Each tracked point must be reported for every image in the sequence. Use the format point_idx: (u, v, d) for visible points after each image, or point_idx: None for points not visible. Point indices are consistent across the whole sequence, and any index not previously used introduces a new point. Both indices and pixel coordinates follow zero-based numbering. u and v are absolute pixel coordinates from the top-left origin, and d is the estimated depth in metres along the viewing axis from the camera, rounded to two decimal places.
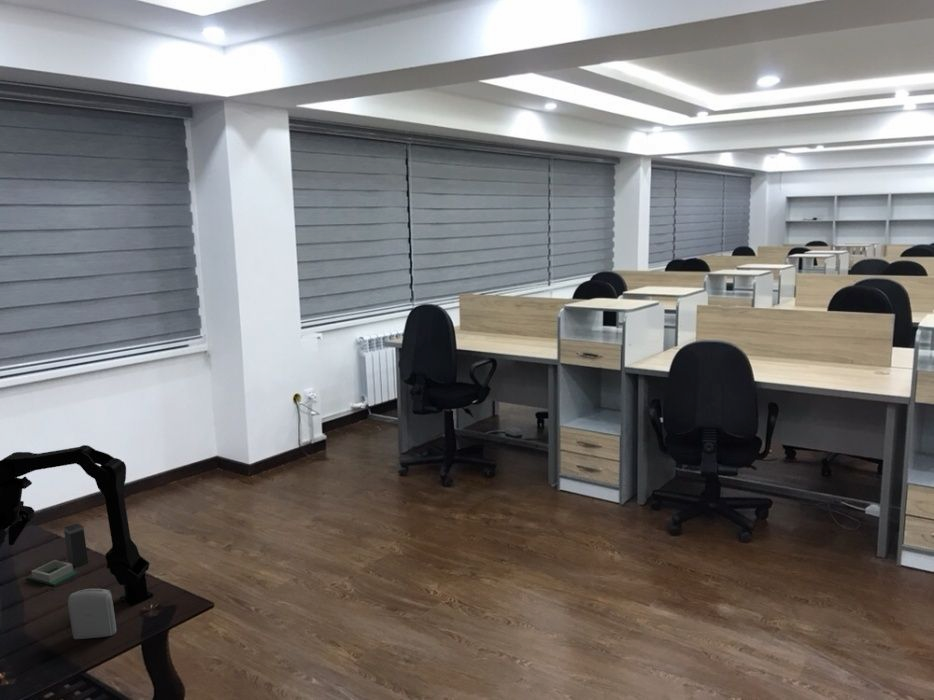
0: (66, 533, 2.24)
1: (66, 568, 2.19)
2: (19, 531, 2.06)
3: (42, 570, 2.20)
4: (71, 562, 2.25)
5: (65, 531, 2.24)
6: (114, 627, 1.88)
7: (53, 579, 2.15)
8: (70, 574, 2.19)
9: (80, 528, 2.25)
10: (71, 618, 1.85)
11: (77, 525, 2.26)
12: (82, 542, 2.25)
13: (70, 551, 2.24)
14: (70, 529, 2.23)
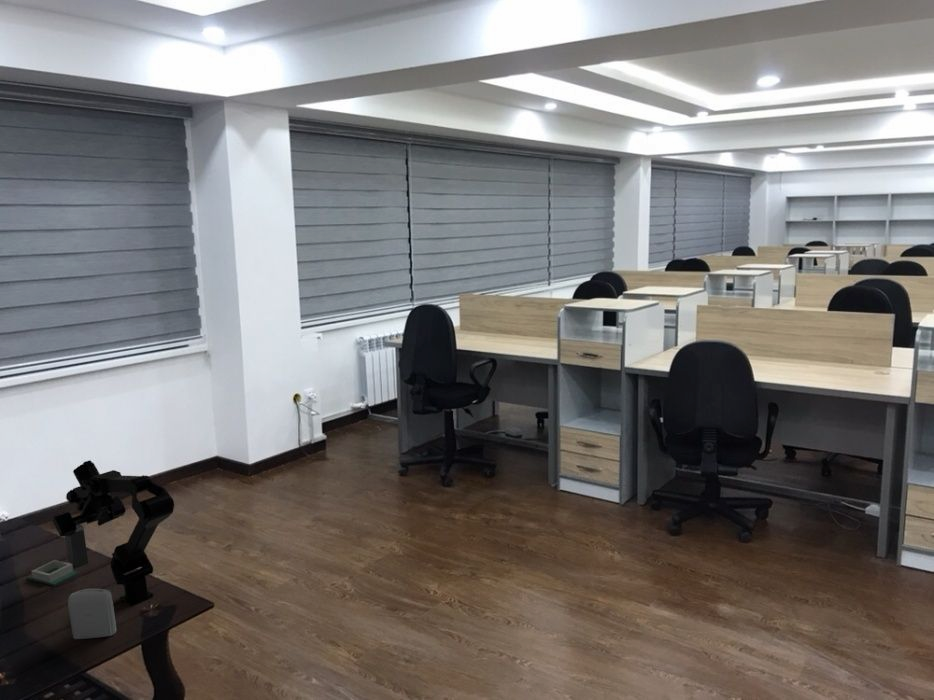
0: None
1: (66, 568, 2.19)
2: (105, 520, 2.20)
3: (42, 570, 2.20)
4: (71, 562, 2.25)
5: None
6: (114, 627, 1.88)
7: (53, 579, 2.15)
8: (70, 574, 2.19)
9: (80, 528, 2.25)
10: (71, 618, 1.85)
11: (77, 525, 2.26)
12: (82, 542, 2.25)
13: (70, 551, 2.24)
14: None
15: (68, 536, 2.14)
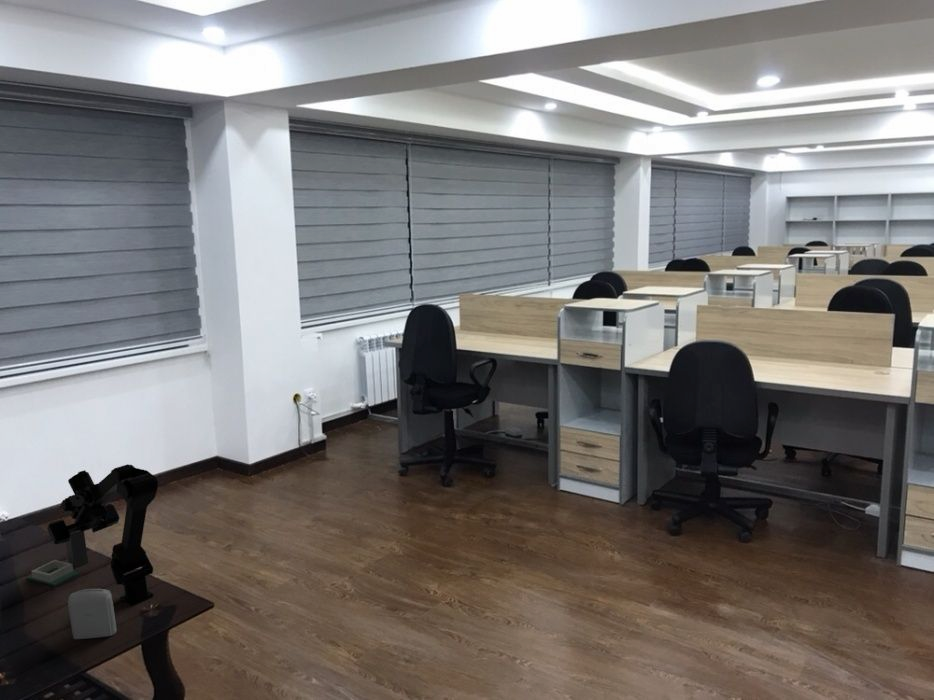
0: None
1: (66, 568, 2.19)
2: (99, 528, 2.25)
3: (42, 570, 2.20)
4: (71, 562, 2.25)
5: None
6: (114, 627, 1.88)
7: (53, 579, 2.15)
8: (70, 574, 2.19)
9: None
10: (71, 618, 1.85)
11: None
12: (82, 542, 2.25)
13: (70, 551, 2.24)
14: None
15: (62, 543, 2.19)
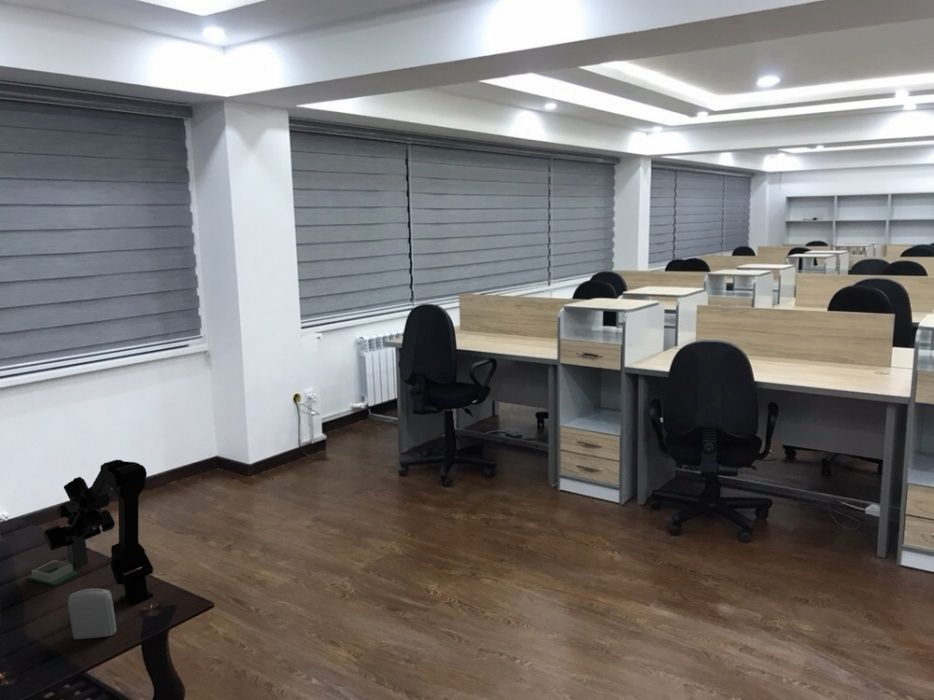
0: None
1: (66, 568, 2.19)
2: (87, 536, 2.26)
3: (42, 570, 2.20)
4: (71, 562, 2.25)
5: None
6: (114, 627, 1.88)
7: (53, 579, 2.15)
8: (70, 574, 2.19)
9: None
10: (71, 618, 1.85)
11: None
12: (82, 542, 2.25)
13: (70, 551, 2.24)
14: None
15: None
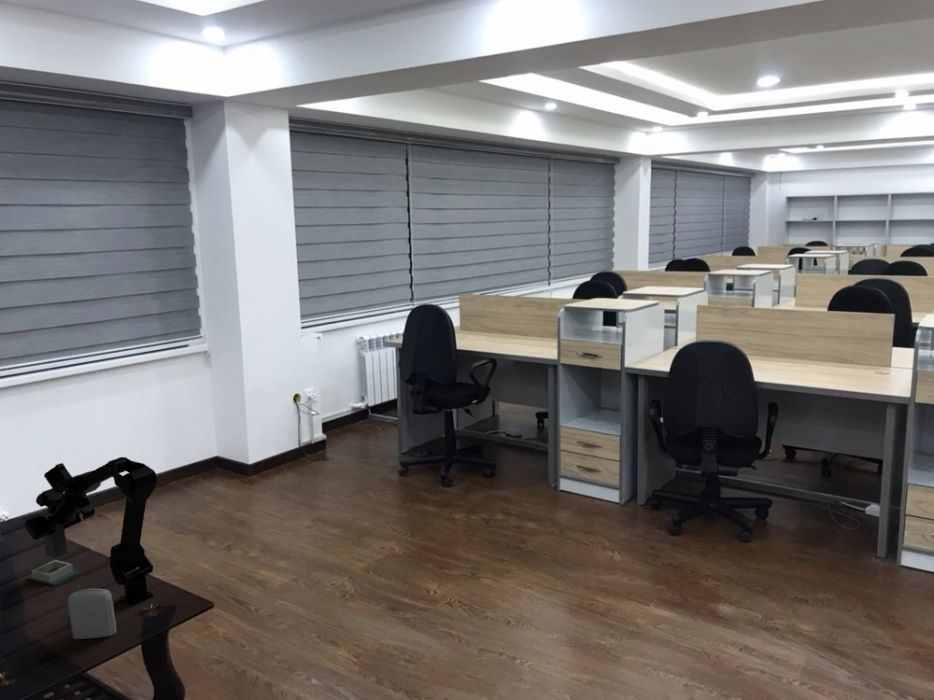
0: None
1: (66, 568, 2.19)
2: (66, 525, 2.20)
3: (42, 570, 2.20)
4: (50, 553, 2.19)
5: None
6: (114, 627, 1.88)
7: (53, 579, 2.15)
8: (70, 574, 2.19)
9: None
10: (71, 618, 1.85)
11: None
12: (61, 532, 2.19)
13: (49, 542, 2.18)
14: None
15: (46, 536, 2.16)
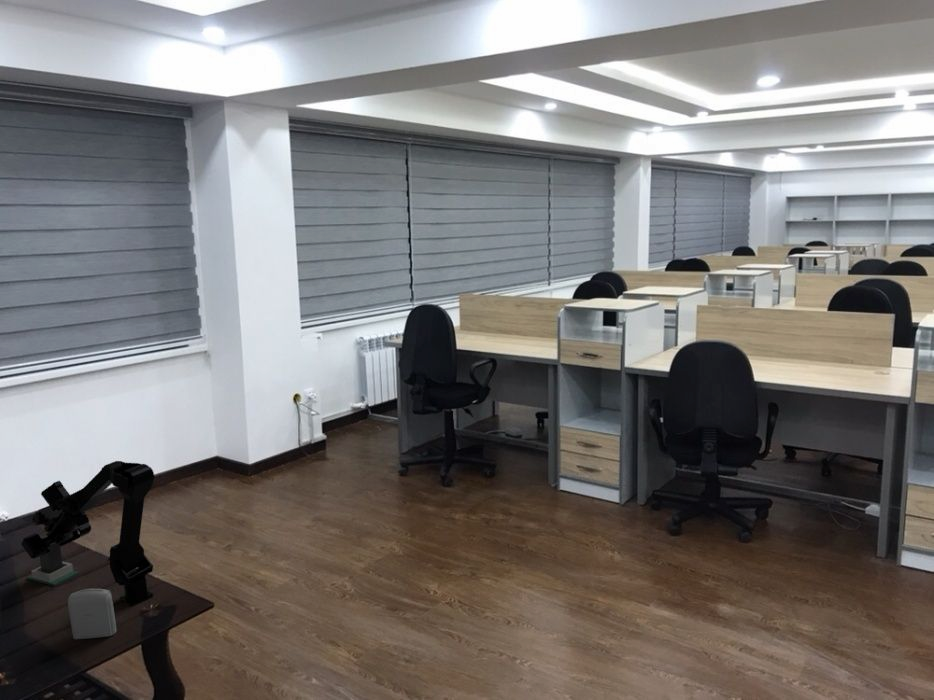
0: None
1: (66, 568, 2.19)
2: (65, 542, 2.20)
3: None
4: None
5: None
6: (114, 627, 1.88)
7: (53, 579, 2.15)
8: (70, 574, 2.19)
9: None
10: (71, 618, 1.85)
11: None
12: (58, 551, 2.18)
13: (45, 562, 2.17)
14: None
15: None
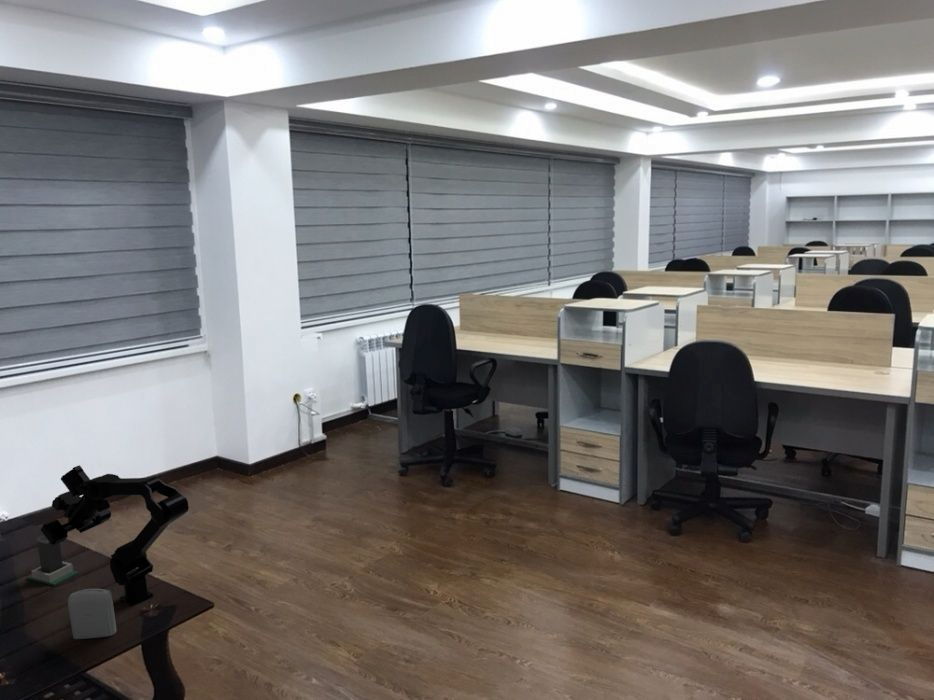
0: (40, 543, 2.16)
1: (66, 568, 2.19)
2: (89, 526, 2.16)
3: None
4: None
5: (39, 541, 2.16)
6: (114, 627, 1.88)
7: (53, 579, 2.15)
8: (70, 574, 2.19)
9: None
10: (71, 618, 1.85)
11: None
12: (58, 551, 2.18)
13: (45, 562, 2.17)
14: (46, 539, 2.15)
15: None
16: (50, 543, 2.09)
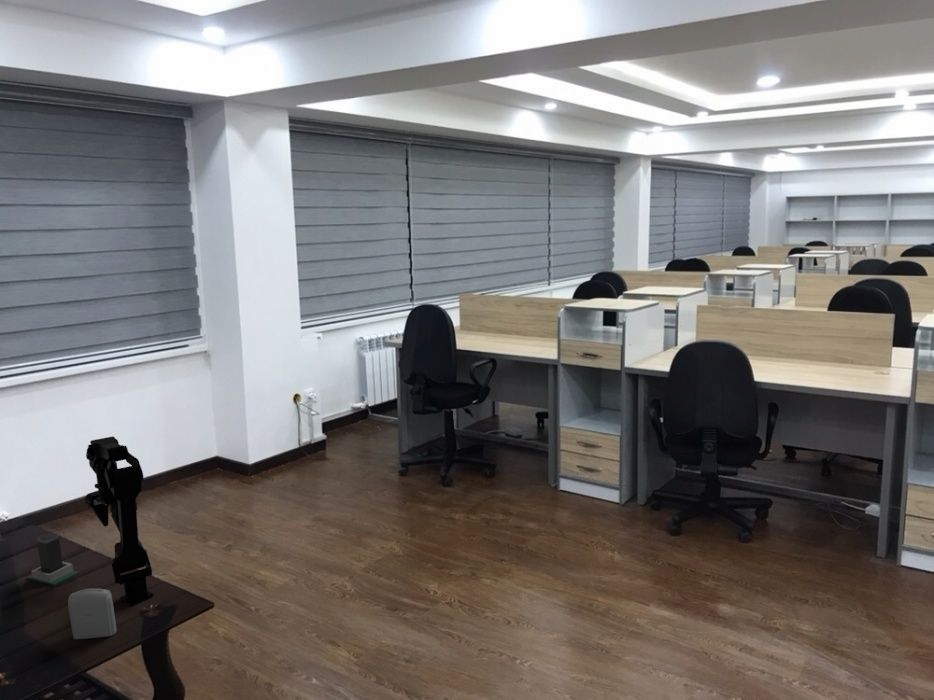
0: (40, 543, 2.16)
1: (66, 568, 2.19)
2: None
3: None
4: None
5: (39, 541, 2.16)
6: (114, 627, 1.88)
7: (53, 579, 2.15)
8: (70, 574, 2.19)
9: (55, 537, 2.17)
10: (71, 618, 1.85)
11: (51, 534, 2.18)
12: (58, 551, 2.18)
13: (45, 562, 2.17)
14: (46, 539, 2.15)
15: None
16: None
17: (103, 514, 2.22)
